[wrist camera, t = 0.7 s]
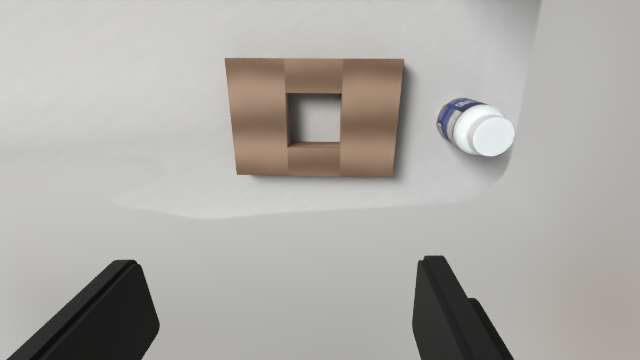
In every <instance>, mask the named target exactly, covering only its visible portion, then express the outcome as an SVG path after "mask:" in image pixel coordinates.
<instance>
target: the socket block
mask: <svg viewBox="0 0 640 360" xmlns="http://www.w3.org/2000/svg"><path fill="white" fill-rule="evenodd" d="M403 65H404V59H282V58H225V66H226V75H227V85H228V94H229V104H230V113H231V123H232V132H233V141H234V151H235V160H236V170H237V175H291V176H348V177H392V173H393V163H394V154H395V144H396V134H397V124H398V114H399V104H400V94H401V85H402V75H403ZM289 93H341V120H340V142H290V114H289Z"/></svg>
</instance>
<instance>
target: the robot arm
mask: <svg viewBox="0 0 640 360" xmlns="http://www.w3.org/2000/svg"><path fill="white" fill-rule="evenodd" d="M159 326H160V324H159V320H158V317H157V314H156V311H155V308H154V305H153V301H152V298H151V295H150V292H149V289H148V285H147V283H146V279H145V276H144V273H143V270H142V267H141V265H139V264H137V262H136V261H135V260H115V261H113V262H112V263H111V264H109V265H108V266H107V267H106V268H105V269H104V270H103V271H102V272H101V273H100V274H99V275H98V276H97V277H95V278H94V279H93V280H92V281H91V282H90V283H89V284H88V285H87V286H86V287H85V288H84V289H83V290H82V291H80V293H78V294H77V295H76V296H75V297H74V298H73V299H72V300H71V301H70V302H69V303H67V304H66V305H65V306H64V307H63V308H62V309H61V310H60V311H59V312H58V313H57V314H56V315H55V316H53V317H52V318H51V319H50V320H49V321H48V322H47V323H46V324H45V325H44V326H43V327H42V328H41V329H39V331H37V332H36V333H35V334H34V335H33V336H32V337H31V338H30V339H29V340H28V341H26V342H25V343H24V344H23V345H22V346H21V347H20V348H19V349H18V350H17V351H16V352H15V353H13V354H12V355H11V356H10V357H9V358H8V359H7V360H141V359H142V358H143V356H144V354H145V352H146V351H147V350H148V348H149V346H150V345H151V343H152V342H153V340H154V339H155V337H156V335H157V334H158V331H159ZM412 327H413V333H414V337H415V340H416V343H417V347H418V350H419V353H420V357H421V360H514V359H513V357H512V355H511V354H510V352H509V351H508V349H507V347H506V346H505V344H504V342H503V341H502V339H501V337H500V336H499V334H498V332H497V331H496V329H495V327H494V326H493V324H492V323H491V321H490V319H489V318H488V316H487V314H486V313H485V311H484V309H483V308H482V306H481V304H480V303H479V302H478V301H477V300H476V299H475V298H467V296H466V294H465V292H464V290H463V289H462V287H461V285H460V284H459V282H458V280H457V279H456V276H455V275H454V273H453V271H452V269H451V268H450V266H449V264H448V262H447V261H446V259H445V257H443V256H425V257H424V260H422V261H421V260H419V261H418V268H417V278H416V288H415V299H414V309H413V320H412Z"/></svg>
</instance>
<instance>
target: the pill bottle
mask: <svg viewBox="0 0 640 360" xmlns="http://www.w3.org/2000/svg"><path fill="white" fill-rule="evenodd" d="M436 127H437V130H438V132H439V133H440V134H441V135H442V136H443V137H444V138H445V139H447V140H448V141H450V142H451V143H452V144H454V145H455V146H457V147H458V148H459V149H461V150H462V151H464V152H466V153H469V154H473V155H483V156H496V155H499V154H501V153H503V152H504V151H506V150H507V149H508V148H509V147H510V145H511V144H512V142H513V140H514V136H515V130H514V127H513V124H512V123H511V122H510V121H509V120H507V119H506V117H505V115H504V114H503V112H502V111H501V110H499V109H498V108H496V107H494V106H491V105H488V104H484V103H481V102H478V101H474V100H471V99H467V98H455V99H452V100H450V101H448V102H446V103H445V104H444V105H443V106H442V107H441V108H440V110H439V111H438V114H437V117H436Z"/></svg>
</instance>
